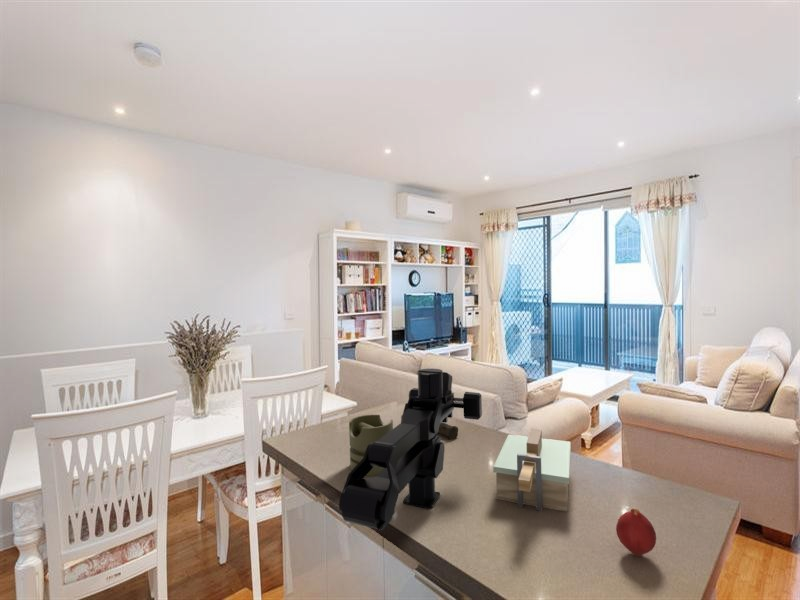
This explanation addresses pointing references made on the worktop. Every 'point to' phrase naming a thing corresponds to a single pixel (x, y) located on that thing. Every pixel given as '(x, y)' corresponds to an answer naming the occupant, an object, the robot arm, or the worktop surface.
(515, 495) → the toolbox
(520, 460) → the bracket
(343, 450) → the worktop surface
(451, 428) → the hand tool
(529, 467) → the tan rectangular bar
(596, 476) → the worktop surface
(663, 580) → the worktop surface
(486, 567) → the worktop surface
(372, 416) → the piston
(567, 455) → the lid
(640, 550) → the onion
